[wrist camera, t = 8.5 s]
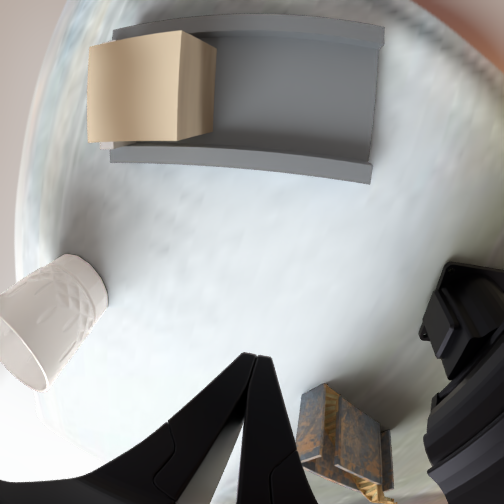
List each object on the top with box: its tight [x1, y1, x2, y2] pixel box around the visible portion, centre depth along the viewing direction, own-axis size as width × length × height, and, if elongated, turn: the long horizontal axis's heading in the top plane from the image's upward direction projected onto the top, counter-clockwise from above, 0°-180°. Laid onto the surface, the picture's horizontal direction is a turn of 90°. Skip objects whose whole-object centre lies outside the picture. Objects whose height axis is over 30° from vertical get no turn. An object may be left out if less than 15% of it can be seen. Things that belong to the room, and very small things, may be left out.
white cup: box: [0, 254, 108, 392], centre depth 21 cm, size 8×8×10 cm
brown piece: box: [296, 383, 397, 504], centre depth 22 cm, size 11×3×10 cm, turn 49°
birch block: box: [87, 30, 217, 143], centre depth 14 cm, size 5×5×5 cm
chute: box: [100, 14, 385, 185], centre depth 15 cm, size 15×9×3 cm, turn 87°
